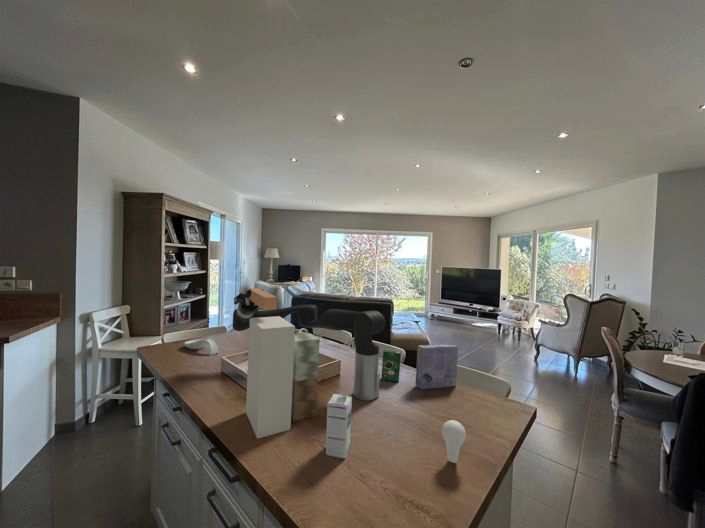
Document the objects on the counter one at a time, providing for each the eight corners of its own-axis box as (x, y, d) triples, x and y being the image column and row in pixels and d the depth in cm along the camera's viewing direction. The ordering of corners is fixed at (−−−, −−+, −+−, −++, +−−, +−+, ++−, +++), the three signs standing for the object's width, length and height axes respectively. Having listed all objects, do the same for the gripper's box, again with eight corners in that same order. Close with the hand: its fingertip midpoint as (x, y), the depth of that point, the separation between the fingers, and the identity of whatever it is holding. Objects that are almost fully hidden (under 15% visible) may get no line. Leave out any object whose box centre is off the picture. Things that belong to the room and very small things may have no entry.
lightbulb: (436, 454, 81) (439, 415, 81) (458, 454, 82) (460, 415, 82) (445, 470, 75) (448, 428, 75) (468, 470, 76) (470, 428, 76)
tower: (307, 404, 106) (310, 333, 105) (316, 415, 99) (319, 338, 98) (285, 409, 101) (288, 335, 101) (293, 421, 95) (296, 341, 94)
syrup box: (346, 459, 78) (348, 405, 78) (324, 455, 79) (327, 402, 79) (350, 446, 83) (352, 395, 83) (330, 442, 85) (332, 392, 84)
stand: (275, 406, 104) (279, 316, 103) (290, 429, 90) (295, 326, 89) (245, 412, 98) (249, 318, 98) (257, 438, 85) (261, 328, 84)
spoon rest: (179, 348, 161) (180, 335, 161) (200, 343, 171) (200, 331, 171) (204, 357, 148) (205, 343, 148) (225, 352, 158) (225, 339, 158)
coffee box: (399, 380, 132) (401, 351, 131) (399, 382, 129) (400, 353, 129) (381, 377, 133) (383, 349, 133) (381, 380, 130) (382, 351, 130)
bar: (247, 298, 116) (248, 288, 116) (258, 298, 118) (258, 288, 118) (264, 309, 94) (264, 297, 94) (276, 309, 96) (277, 297, 96)
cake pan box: (451, 381, 133) (453, 343, 132) (458, 386, 128) (461, 346, 128) (414, 385, 127) (416, 345, 126) (420, 390, 122) (422, 348, 122)
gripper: (229, 299, 123) (236, 282, 110) (263, 298, 130) (273, 282, 117) (230, 316, 120) (237, 301, 107) (265, 314, 127) (275, 299, 114)
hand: (256, 291), depth 112 cm, fingers closed on bar, 4 cm apart
